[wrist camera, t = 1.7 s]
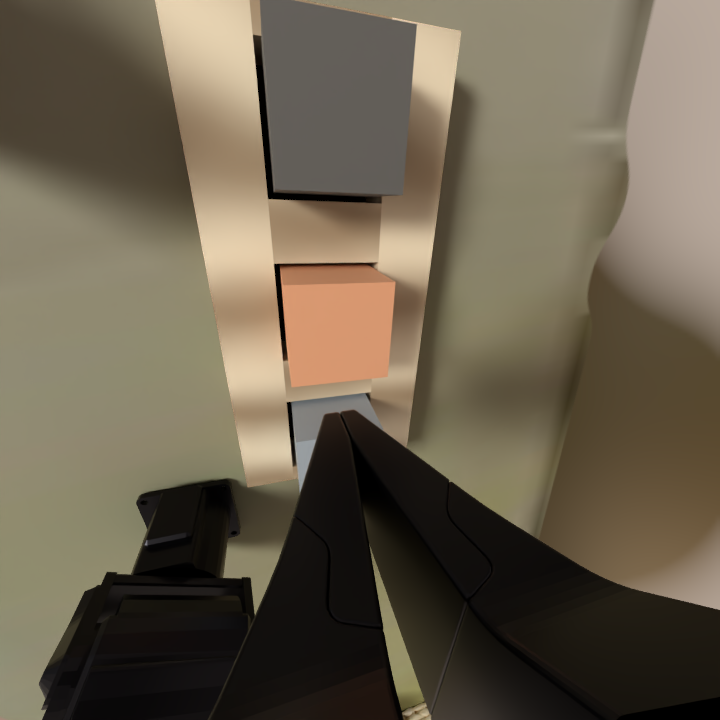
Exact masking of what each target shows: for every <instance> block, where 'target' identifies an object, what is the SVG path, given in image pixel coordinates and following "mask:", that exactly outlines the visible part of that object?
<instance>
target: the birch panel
mask: <svg viewBox="0 0 720 720" xmlns="http://www.w3.org/2000/svg"><path fill="white" fill-rule="evenodd" d="M295 1H300V2H305V3H310V4H315V5H321V6H326V7H331V8H336V9H341V10H346V11H351V12H357V13H362V14H367V15H372V16H377V17H382V18H387V19H392V20H398V21H403V22H408V23H413V24H417V30H416V42H415V54H414V66H413V78H412V90H411V102H410V114H409V126H408V138H407V150H406V162H405V174H404V187H403V195H398V196H379V197H366V203H354V202H328V201H301V200H275V199H268V195H267V184H266V174H265V163H264V152H263V141H262V130H261V119H260V109H259V98H258V87H257V76H256V65H261V66H263V64H262V42H261V17H260V0H155V2H156V8H157V13H158V18H159V23H160V29H161V34H162V39H163V44H164V50H165V55H166V60H167V66H168V71H169V76H170V81H171V87H172V92H173V97H174V102H175V108H176V113H177V118H178V123H179V129H180V134H181V139H182V144H183V150H184V155H185V160H186V165H187V171H188V176H189V181H190V186H191V192H192V197H193V202H194V208H195V213H196V218H197V223H198V229H199V234H200V239H201V244H202V250H203V255H204V260H205V265H206V271H207V276H208V281H209V286H210V292H211V297H212V302H213V307H214V313H215V318H216V323H217V328H218V334H219V339H220V344H221V349H222V355H223V360H224V365H225V371H226V376H227V381H228V386H229V392H230V397H231V402H232V407H233V413H234V418H235V423H236V428H237V434H238V439H239V444H240V449H241V455H242V460H243V465H244V470H245V476H246V481H247V486H248V487H253V486H258V485H264V484H269V483H275V482H280V481H286V480H292V479H297V478H298V471H297V462H296V453H295V443H294V439H290V433H289V423H288V412H287V402H293V401H301V400H309V399H318V398H326V397H334V396H343V395H351V394H359V393H365V394H366V396H367V398H368V400H369V402H370V404H371V406H372V408H373V410H374V412H375V414H376V416H377V418H378V420H379V422H380V424H381V425H382V427H383V431H384V432H386V433H387V434H388V435H390V436H391V437H393V438H394V439H395V440H397V441H398V442H399V443H401V444H402V445H403V446H405V447H406V448H407V441H408V433H409V425H410V418H411V410H412V403H413V395H414V387H415V380H416V372H417V364H418V357H419V349H420V342H421V334H422V326H423V319H424V311H425V303H426V296H427V288H428V281H429V273H430V265H431V258H432V250H433V242H434V235H435V227H436V220H437V212H438V204H439V197H440V189H441V181H442V174H443V166H444V159H445V151H446V143H447V136H448V128H449V120H450V113H451V105H452V98H453V90H454V82H455V75H456V67H457V59H458V52H459V44H460V37H461V31H458V30H453V29H448V28H442V27H437V26H432V25H427V24H422V23H417V22H412V21H407V20H402V19H397V18H392V17H386V16H381V15H376V14H371V13H366V12H361V11H356V10H351V9H346V8H341V7H335V6H330V5H325V4H320V3H315V2H310V1H305V0H295ZM282 263H366V264H367V265H369V266H371V267H372V268H374V269H375V270H377V271H379V272H380V273H382V274H383V275H385V276H387V277H388V278H390V279H391V280H393V281H395V282H396V283H395V295H394V307H393V319H392V331H391V343H390V355H389V367H388V377H382V378H373V379H364V380H355V381H346V382H336V383H327V384H318V385H309V386H300V387H291V379H290V371H289V363H288V355H287V347H286V341H284V342H281V336H280V325H279V314H278V304H277V293H276V282H275V271H274V264H282Z"/></svg>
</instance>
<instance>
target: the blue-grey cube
mask: <svg viewBox="0 0 720 720" xmlns="http://www.w3.org/2000/svg"><path fill="white" fill-rule="evenodd" d="M291 407H292V419H293V431H294V443H295V453H296V462H297V471H298V481H299V490H300V491H301V488H302V485H303V482H304V478H305V475H306V472H307V468H308V465H309V462H310V458H311V455H312V452H313V448H314V445H315V442H316V439H317V435H318V432H319V429H320V425H321V422H322V419H323V416H324V414H326V413H333V412H339V413H340V412H341V411H346V410H352V409H354V410H356V411H358V412H359V413H360V414H362V415H363V416H364V417H366V418H367V419H368V420H370V421H371V422H372V423H374V424H375V425H376V426H378V427H379V428H380V429H382V430H383V427H382V425H381V424H380V422H379V420H378V418H377V416H376V414H375V412H374V410H373V408H372V406H371V404H370V402H369V400H368V398H367V396H366V394H365V393H359V394H351V395H343V396H334V397H326V398H318V399H309V400H301V401H293V402H291Z"/></svg>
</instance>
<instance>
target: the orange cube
mask: <svg viewBox="0 0 720 720" xmlns="http://www.w3.org/2000/svg"><path fill="white" fill-rule="evenodd" d="M279 265H280V277H281V289H282V300H283V312H284V324H285V336H286V347H287V355H288V363H289V371H290V379H291V387H300V386H309V385H318V384H327V383H336V382H346V381H355V380H364V379H373V378H382V377H388V367H389V355H390V343H391V331H392V319H393V307H394V295H395V283H396V282H395V281H393V280H391V279H390V278H388V277H387V276H385V275H383V274H382V273H380V272H379V271H377V270H375V269H374V268H372V267H371V266H369V265H367V264H366V263H358V264H279Z"/></svg>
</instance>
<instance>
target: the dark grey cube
mask: <svg viewBox="0 0 720 720" xmlns="http://www.w3.org/2000/svg"><path fill="white" fill-rule="evenodd" d="M260 17H261V42H262V64H263V75H264V87H265V99H266V111H267V123H268V135H269V147H270V158H271V170H272V182H273V193H284V194H307V195H330V196H354V197H379V196H398V195H403V187H404V174H405V162H406V150H407V138H408V126H409V114H410V102H411V90H412V78H413V66H414V54H415V42H416V30H417V24H413V23H408V22H403V21H398V20H392V19H387V18H382V17H377V16H372V15H367V14H362V13H357V12H351V11H346V10H341V9H336V8H331V7H326V6H321V5H315V4H310V3H305V2H300V1H295V0H260Z"/></svg>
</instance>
